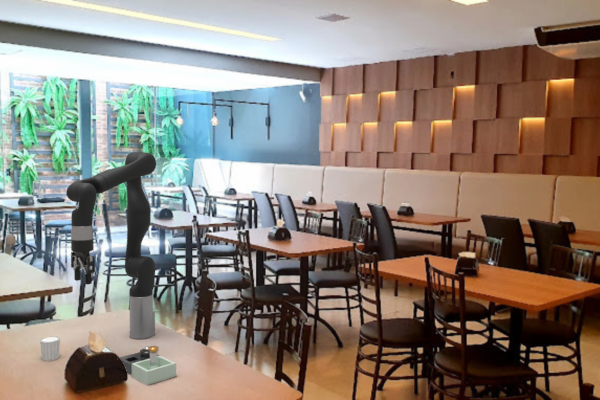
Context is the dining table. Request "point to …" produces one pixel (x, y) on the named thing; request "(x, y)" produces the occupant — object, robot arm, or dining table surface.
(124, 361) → the dark grey holder block
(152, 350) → the lock pin
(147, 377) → the parts tray
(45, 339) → the white ribbed cylinder
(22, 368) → the dining table surface
